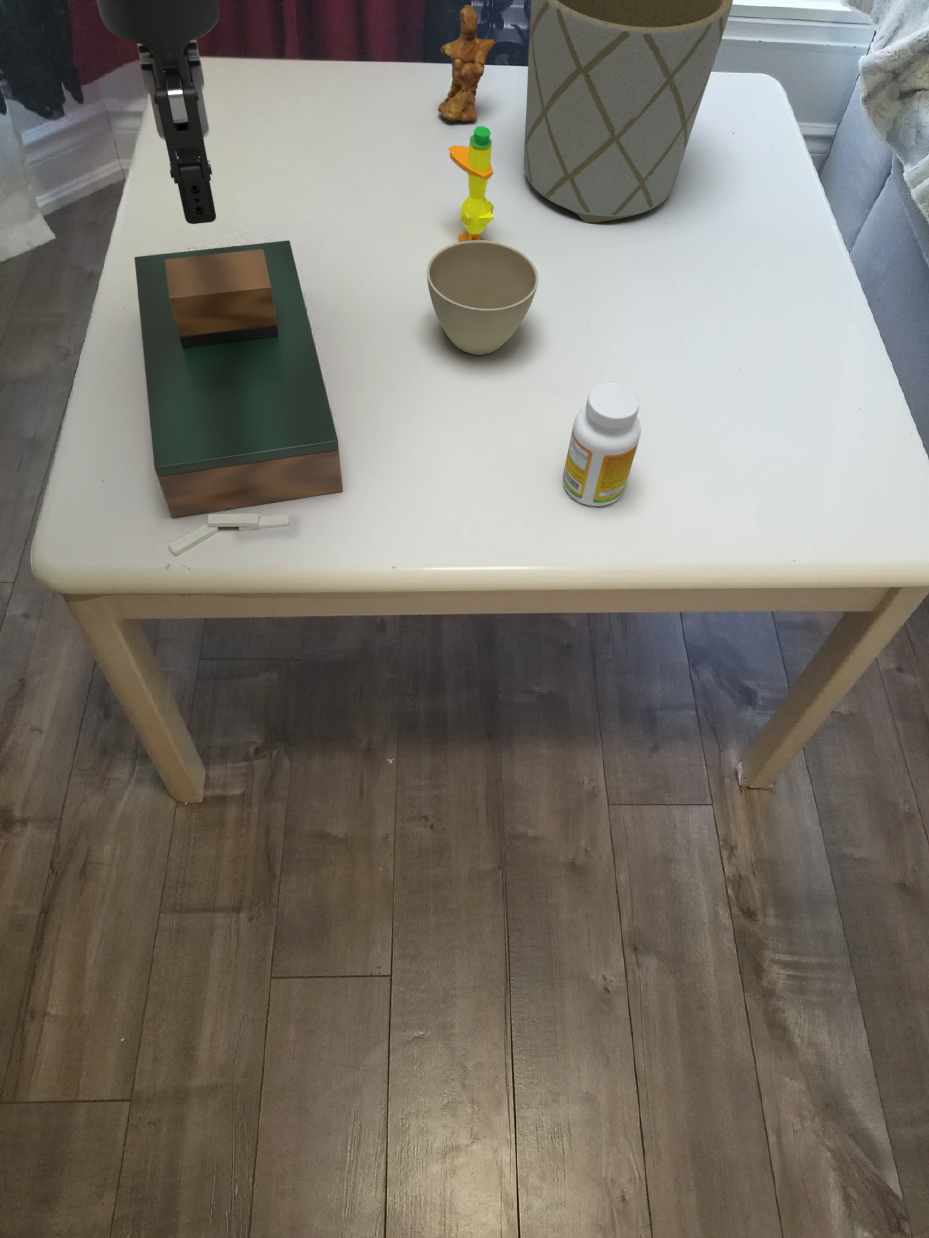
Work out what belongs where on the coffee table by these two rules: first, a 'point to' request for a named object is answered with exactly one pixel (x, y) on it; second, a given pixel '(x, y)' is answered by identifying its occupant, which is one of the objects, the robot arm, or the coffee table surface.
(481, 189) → the toy figure
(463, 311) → the flower pot
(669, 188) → the planter
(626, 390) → the supplement bottle
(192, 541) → the chalk stroke
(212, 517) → the chalk stroke
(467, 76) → the figurine
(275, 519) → the chalk stroke
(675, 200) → the coffee table surface
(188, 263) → the eraser
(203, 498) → the chalkboard
